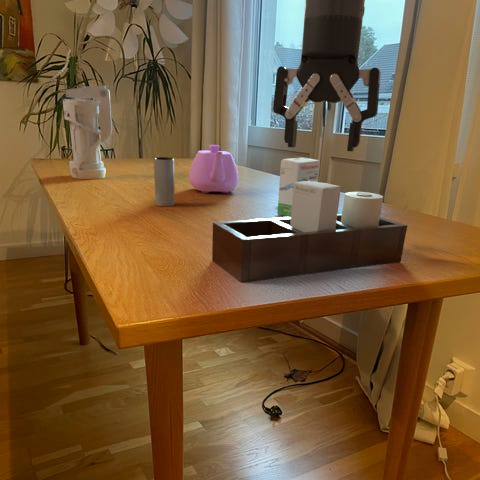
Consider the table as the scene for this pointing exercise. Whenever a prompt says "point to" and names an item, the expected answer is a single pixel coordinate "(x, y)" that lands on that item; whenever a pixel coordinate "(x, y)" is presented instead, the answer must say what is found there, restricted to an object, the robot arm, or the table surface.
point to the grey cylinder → (164, 181)
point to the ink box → (294, 180)
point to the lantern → (88, 129)
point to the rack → (302, 247)
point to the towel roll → (361, 209)
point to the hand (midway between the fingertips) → (320, 149)
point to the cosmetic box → (314, 206)
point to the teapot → (213, 171)
